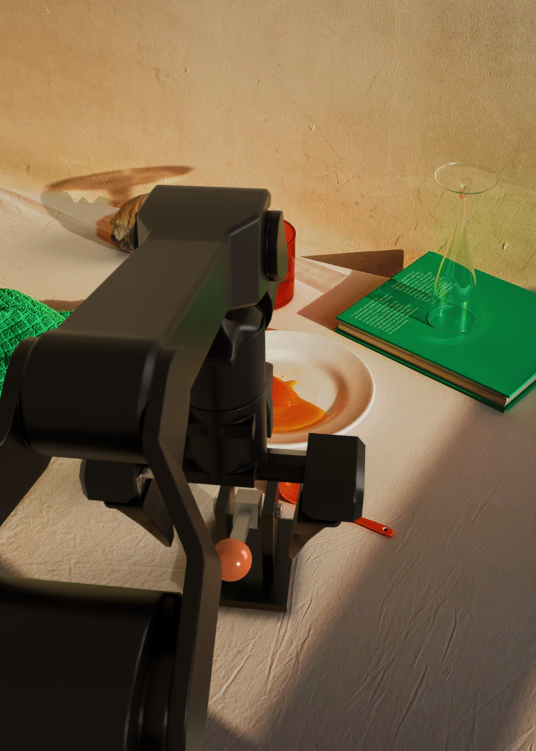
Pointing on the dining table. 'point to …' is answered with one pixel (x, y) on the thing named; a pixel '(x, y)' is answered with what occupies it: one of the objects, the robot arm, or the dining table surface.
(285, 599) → the bracket
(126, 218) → the bread roll
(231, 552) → the lever
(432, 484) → the dining table surface
